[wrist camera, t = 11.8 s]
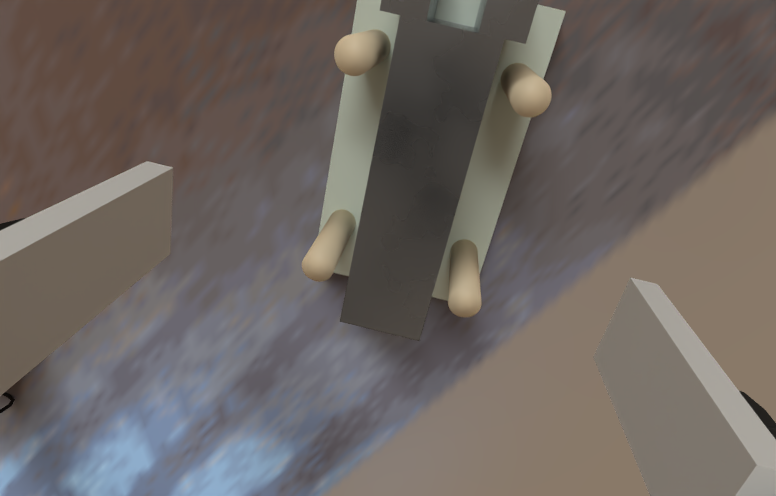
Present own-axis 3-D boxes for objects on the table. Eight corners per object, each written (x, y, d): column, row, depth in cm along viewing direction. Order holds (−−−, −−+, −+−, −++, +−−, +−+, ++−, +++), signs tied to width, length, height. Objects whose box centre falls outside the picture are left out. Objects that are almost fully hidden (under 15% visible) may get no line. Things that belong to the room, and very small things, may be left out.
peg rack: (468, 294, 34) (471, 365, 27) (319, 257, 34) (283, 319, 27) (560, 11, 26) (594, 11, 20) (368, -34, 27) (336, -48, 20)
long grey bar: (440, 278, 32) (435, 344, 25) (350, 256, 32) (323, 317, 26) (528, -32, 24) (553, -47, 18) (412, -59, 25) (396, -83, 18)
